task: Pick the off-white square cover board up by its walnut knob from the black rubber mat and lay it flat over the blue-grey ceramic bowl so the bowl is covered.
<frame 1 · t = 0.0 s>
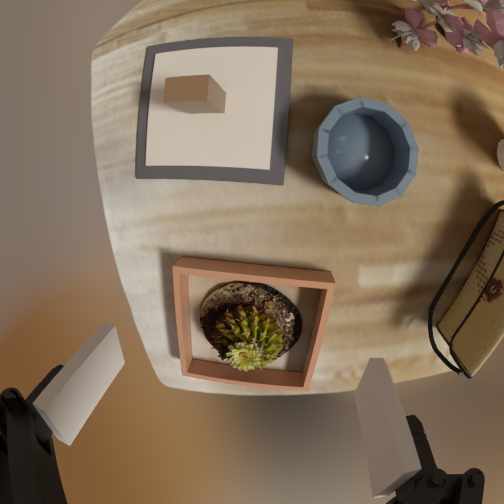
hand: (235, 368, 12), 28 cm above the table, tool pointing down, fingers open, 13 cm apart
bowl: (357, 151, 34), on the table
cactus: (250, 322, 45), on the table
clutch purse: (466, 266, 37), on the table
cactus tray: (250, 325, 45), on the table
cover board: (198, 96, 29), on the rubber mat
rubber mat: (209, 104, 34), on the table
flower 2: (426, 34, 25), on the table
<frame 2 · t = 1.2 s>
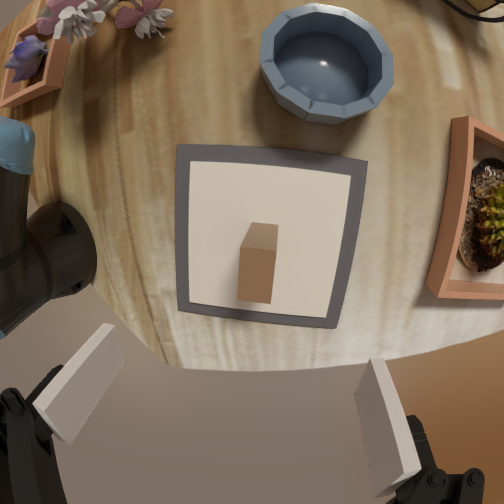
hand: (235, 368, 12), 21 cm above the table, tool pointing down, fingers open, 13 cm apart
bowl: (321, 72, 25), on the table
cactus: (489, 215, 28), on the table
flower: (46, 56, 26), on the table
cactus tray: (494, 216, 27), on the table
cover board: (260, 257, 28), on the rubber mat
flower tray: (43, 57, 26), on the table
rubber mat: (263, 241, 33), on the table
flower 2: (144, 7, 23), on the table
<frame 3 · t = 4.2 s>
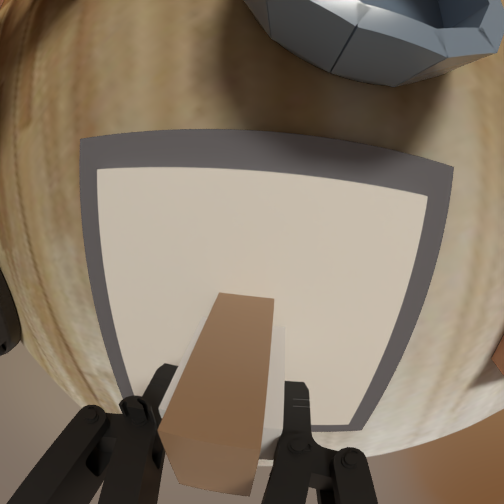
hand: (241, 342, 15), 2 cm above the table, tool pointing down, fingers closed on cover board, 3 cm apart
cover board: (232, 384, 11), on the rubber mat, touching gripper
rubber mat: (246, 322, 16), on the table
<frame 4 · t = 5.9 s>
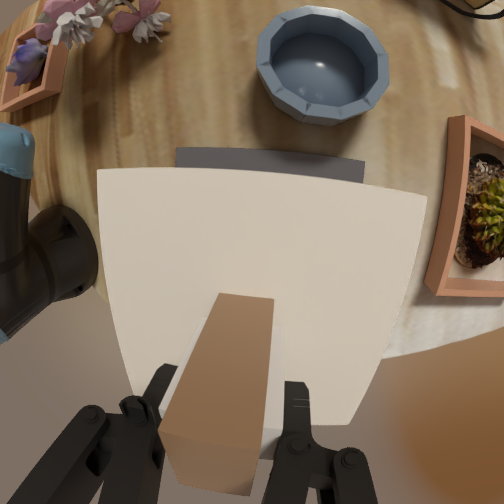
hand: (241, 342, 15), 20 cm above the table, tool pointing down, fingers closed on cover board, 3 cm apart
bowl: (318, 73, 26), on the table
cactus: (482, 211, 28), on the table
flower: (48, 60, 26), on the table, touching flower tray
cactus tray: (492, 214, 28), on the table
cover board: (232, 384, 11), point 23 cm above the table, touching gripper
flower tray: (41, 62, 26), on the table
rubber mat: (263, 242, 33), on the table
flower 2: (141, 10, 24), on the table
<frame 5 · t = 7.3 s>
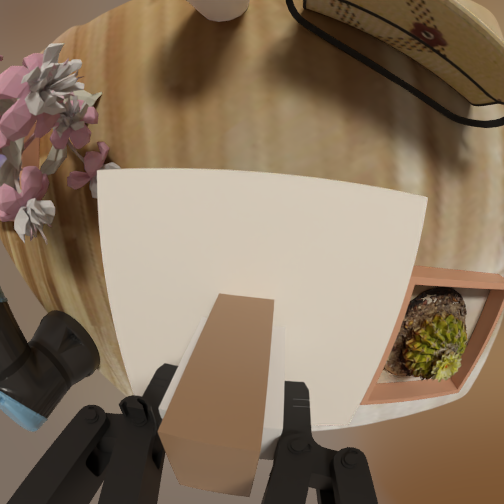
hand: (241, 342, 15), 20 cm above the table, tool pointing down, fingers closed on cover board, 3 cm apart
cactus: (424, 332, 36), on the table
clutch purse: (396, 60, 24), on the table
cactus tray: (433, 335, 35), on the table
cover board: (232, 385, 11), point 23 cm above the table, touching gripper
flower tray: (17, 173, 33), on the table
foam cup: (224, 4, 23), on the table
flower 2: (96, 142, 31), on the table
when the fingers open (10 cm above the table, at t = 9.7 s): cover board drops 2 cm, resting on bowl.
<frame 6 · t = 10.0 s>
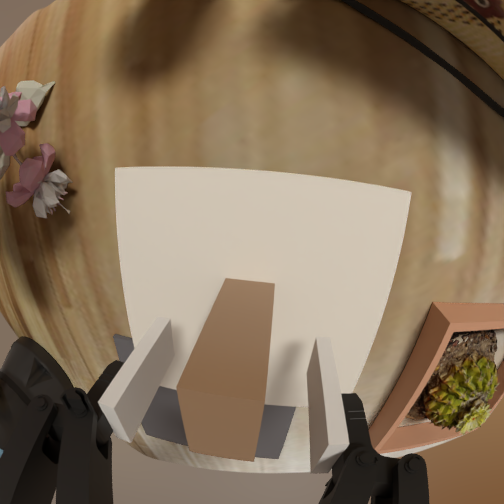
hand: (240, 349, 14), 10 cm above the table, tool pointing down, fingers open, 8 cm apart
cactus: (448, 374, 26), on the table
clutch purse: (433, 35, 14), on the table
cactus tray: (459, 376, 26), on the table
cover board: (237, 357, 13), on the bowl, point 11 cm above the table
rubber mat: (206, 412, 31), on the table
flower 2: (47, 143, 22), on the table
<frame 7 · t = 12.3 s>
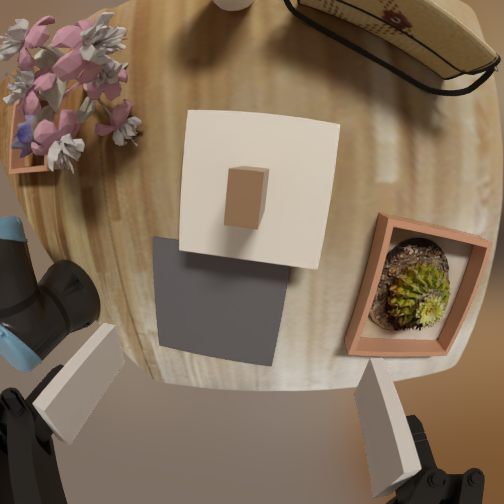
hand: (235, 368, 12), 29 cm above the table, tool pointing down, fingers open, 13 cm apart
cactus: (408, 285, 40), on the table
clutch purse: (375, 44, 28), on the table
flower: (46, 131, 38), on the table
cactus tray: (418, 289, 40), on the table
cover board: (250, 192, 27), on the bowl, point 11 cm above the table
flower tray: (41, 132, 38), on the table
rubber mat: (215, 307, 45), on the table
flower 2: (120, 103, 35), on the table
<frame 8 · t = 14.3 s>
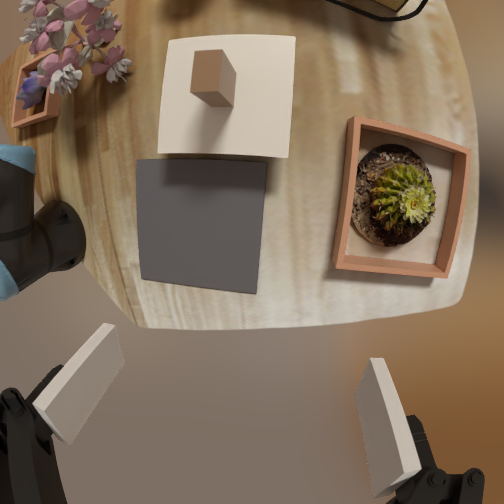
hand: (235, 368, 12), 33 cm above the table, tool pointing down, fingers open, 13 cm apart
cactus: (391, 195, 40), on the table
flower: (48, 88, 38), on the table
cactus tray: (402, 200, 39), on the table
cover board: (216, 81, 27), on the bowl, point 11 cm above the table
flower tray: (43, 89, 38), on the table
rubber mat: (195, 225, 45), on the table
flower 2: (114, 53, 35), on the table
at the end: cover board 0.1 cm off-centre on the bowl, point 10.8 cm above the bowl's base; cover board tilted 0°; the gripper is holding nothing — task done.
